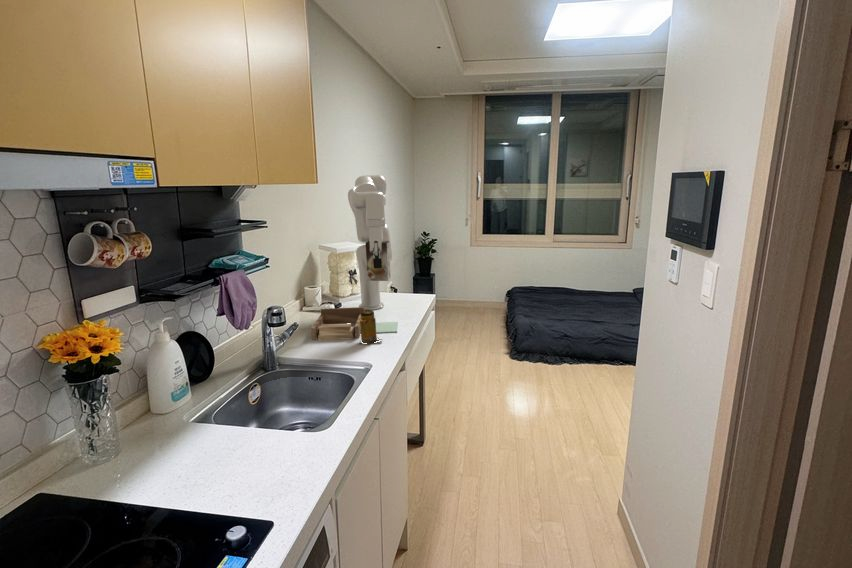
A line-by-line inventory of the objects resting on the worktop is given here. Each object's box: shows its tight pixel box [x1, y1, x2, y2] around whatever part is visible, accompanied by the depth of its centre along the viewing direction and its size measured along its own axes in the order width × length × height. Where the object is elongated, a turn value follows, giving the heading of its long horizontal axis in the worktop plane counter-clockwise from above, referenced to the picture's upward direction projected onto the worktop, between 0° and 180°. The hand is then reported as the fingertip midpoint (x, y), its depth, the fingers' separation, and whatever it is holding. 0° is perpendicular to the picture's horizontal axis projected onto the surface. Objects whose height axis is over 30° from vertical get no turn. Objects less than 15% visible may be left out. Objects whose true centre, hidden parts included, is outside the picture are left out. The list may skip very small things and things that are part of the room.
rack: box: [310, 306, 365, 341], centre depth 187 cm, size 22×19×7 cm
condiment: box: [360, 310, 383, 345], centre depth 172 cm, size 7×8×12 cm
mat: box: [376, 321, 399, 334], centre depth 189 cm, size 13×13×1 cm
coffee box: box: [365, 241, 392, 282], centre depth 182 cm, size 9×6×16 cm
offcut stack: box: [317, 324, 355, 340], centre depth 179 cm, size 4×14×5 cm, turn 90°
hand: (378, 266), depth 183 cm, fingers closed on coffee box, 6 cm apart
